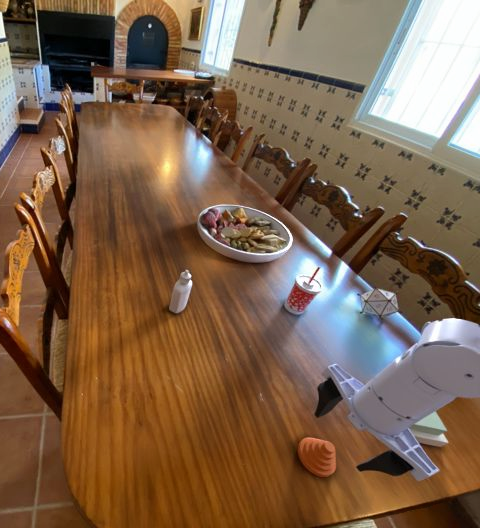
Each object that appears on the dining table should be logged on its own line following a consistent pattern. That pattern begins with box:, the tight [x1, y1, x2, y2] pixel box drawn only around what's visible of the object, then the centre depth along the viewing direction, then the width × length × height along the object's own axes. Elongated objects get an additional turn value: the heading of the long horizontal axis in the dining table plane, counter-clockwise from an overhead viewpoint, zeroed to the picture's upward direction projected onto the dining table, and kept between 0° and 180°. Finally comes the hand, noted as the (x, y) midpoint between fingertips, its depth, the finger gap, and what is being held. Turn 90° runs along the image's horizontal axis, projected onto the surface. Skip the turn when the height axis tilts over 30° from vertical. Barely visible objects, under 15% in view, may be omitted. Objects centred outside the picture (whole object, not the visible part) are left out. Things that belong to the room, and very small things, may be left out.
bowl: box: [196, 204, 293, 264], centre depth 98 cm, size 30×30×8 cm
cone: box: [297, 437, 337, 478], centre depth 49 cm, size 6×6×5 cm
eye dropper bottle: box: [168, 269, 193, 314], centre depth 71 cm, size 4×6×12 cm
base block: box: [409, 429, 449, 448], centre depth 56 cm, size 9×9×2 cm
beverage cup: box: [283, 266, 324, 315], centre depth 73 cm, size 6×6×14 cm
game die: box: [356, 284, 404, 322], centre depth 75 cm, size 9×8×10 cm
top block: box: [409, 411, 448, 435], centre depth 55 cm, size 7×7×2 cm
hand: (340, 438), depth 45 cm, fingers open, 7 cm apart
